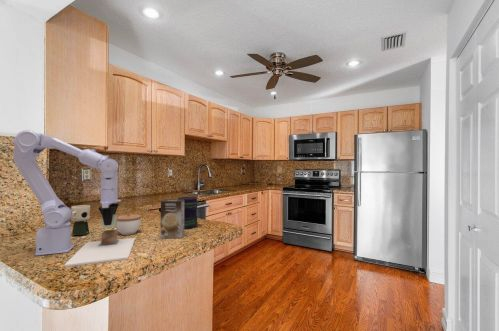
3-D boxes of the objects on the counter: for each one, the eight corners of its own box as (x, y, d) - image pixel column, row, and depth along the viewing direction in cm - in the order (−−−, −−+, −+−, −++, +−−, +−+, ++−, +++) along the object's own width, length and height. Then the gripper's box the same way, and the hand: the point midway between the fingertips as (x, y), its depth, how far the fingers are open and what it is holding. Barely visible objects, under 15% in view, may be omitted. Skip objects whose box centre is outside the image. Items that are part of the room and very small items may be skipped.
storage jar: (200, 227, 119) (200, 198, 120) (180, 230, 115) (180, 199, 115) (194, 223, 128) (194, 196, 128) (175, 226, 123) (175, 197, 123)
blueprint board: (63, 267, 72) (63, 264, 72) (86, 243, 94) (86, 242, 94) (128, 259, 78) (128, 257, 78) (135, 239, 101) (135, 237, 101)
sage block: (101, 228, 90) (101, 216, 91) (104, 225, 95) (104, 214, 95) (114, 227, 92) (114, 215, 92) (116, 224, 96) (116, 213, 96)
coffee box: (159, 238, 101) (159, 201, 101) (164, 234, 107) (164, 199, 108) (181, 238, 101) (181, 200, 102) (184, 234, 108) (184, 199, 108)
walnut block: (101, 245, 90) (101, 233, 90) (104, 242, 95) (104, 230, 95) (114, 244, 92) (114, 232, 92) (116, 240, 96) (116, 229, 96)
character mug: (79, 238, 102) (79, 208, 102) (63, 238, 102) (63, 208, 102) (96, 231, 113) (96, 204, 113) (81, 231, 113) (81, 204, 113)
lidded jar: (131, 229, 117) (131, 210, 117) (146, 231, 112) (146, 212, 112) (109, 234, 108) (110, 214, 108) (125, 237, 103) (125, 216, 103)
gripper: (117, 190, 88) (117, 226, 88) (123, 187, 102) (123, 219, 102) (95, 191, 86) (95, 228, 85) (104, 188, 99) (104, 220, 99)
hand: (109, 223), depth 93 cm, fingers closed on sage block, 4 cm apart
